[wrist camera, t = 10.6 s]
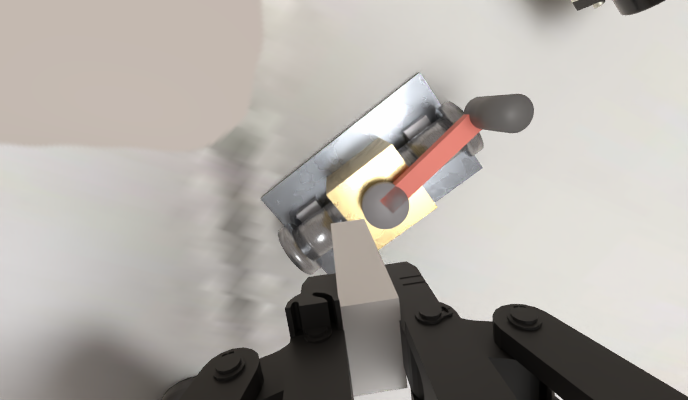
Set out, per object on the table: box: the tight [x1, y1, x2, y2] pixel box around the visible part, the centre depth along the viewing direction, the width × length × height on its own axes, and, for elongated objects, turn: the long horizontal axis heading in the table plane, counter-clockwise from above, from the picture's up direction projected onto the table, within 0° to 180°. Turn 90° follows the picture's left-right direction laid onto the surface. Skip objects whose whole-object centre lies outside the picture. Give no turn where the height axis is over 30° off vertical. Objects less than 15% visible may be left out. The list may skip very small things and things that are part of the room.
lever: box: [362, 94, 534, 229], centre depth 28 cm, size 16×4×6 cm, turn 135°
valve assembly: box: [261, 73, 483, 274], centre depth 37 cm, size 24×14×10 cm, turn 128°
